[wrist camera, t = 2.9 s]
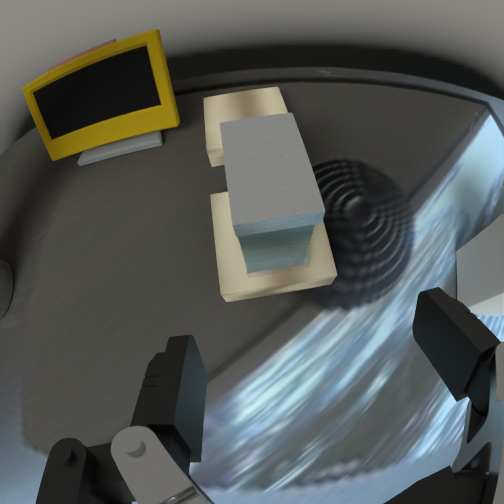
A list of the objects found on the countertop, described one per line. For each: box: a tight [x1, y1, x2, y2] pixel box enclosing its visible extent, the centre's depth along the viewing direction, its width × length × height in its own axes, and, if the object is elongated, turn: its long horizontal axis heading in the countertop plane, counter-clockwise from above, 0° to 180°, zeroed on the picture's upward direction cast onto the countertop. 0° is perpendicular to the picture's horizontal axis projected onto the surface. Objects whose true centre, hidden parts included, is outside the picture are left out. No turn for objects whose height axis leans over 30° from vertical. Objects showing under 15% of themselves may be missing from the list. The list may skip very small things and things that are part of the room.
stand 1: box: [203, 87, 288, 167], centre depth 33 cm, size 10×10×3 cm
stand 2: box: [211, 192, 337, 302], centre depth 27 cm, size 10×10×3 cm
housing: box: [220, 113, 325, 279], centre depth 21 cm, size 5×8×10 cm, turn 8°
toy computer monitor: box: [22, 29, 180, 166], centre depth 29 cm, size 20×8×16 cm, turn 95°
